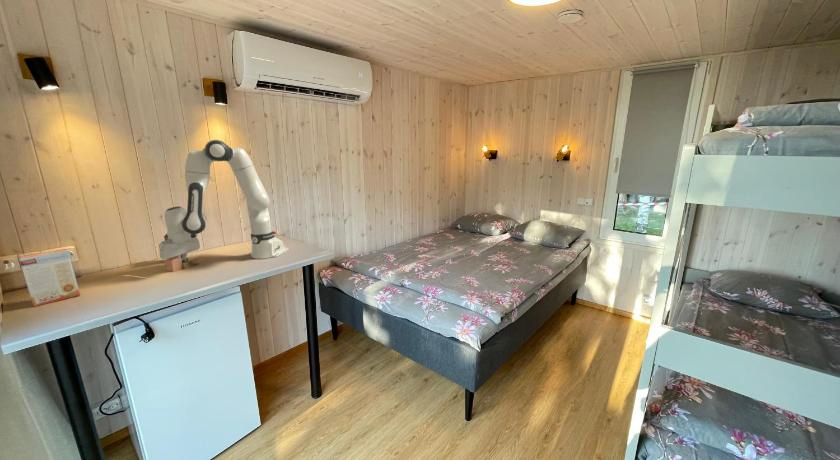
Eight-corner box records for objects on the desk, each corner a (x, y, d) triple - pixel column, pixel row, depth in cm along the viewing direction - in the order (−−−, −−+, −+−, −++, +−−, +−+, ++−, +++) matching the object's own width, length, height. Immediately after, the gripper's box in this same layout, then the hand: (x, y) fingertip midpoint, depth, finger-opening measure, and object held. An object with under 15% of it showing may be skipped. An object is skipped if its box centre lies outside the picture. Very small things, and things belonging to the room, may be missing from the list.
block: (175, 267, 183) (173, 257, 182) (182, 268, 182) (180, 257, 180) (166, 270, 179) (164, 259, 177) (173, 271, 177) (171, 260, 176)
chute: (187, 263, 192) (186, 257, 191) (200, 264, 189) (199, 258, 188) (161, 272, 178) (159, 266, 177) (173, 274, 175) (172, 267, 174)
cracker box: (78, 292, 154) (66, 247, 149) (80, 295, 150) (68, 250, 145) (32, 303, 143) (18, 255, 138) (33, 307, 139) (18, 258, 135)
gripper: (163, 242, 170) (168, 268, 174) (199, 233, 189) (203, 257, 193) (154, 241, 172) (159, 267, 176) (191, 232, 191) (195, 256, 194)
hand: (182, 262), depth 184 cm, fingers closed
